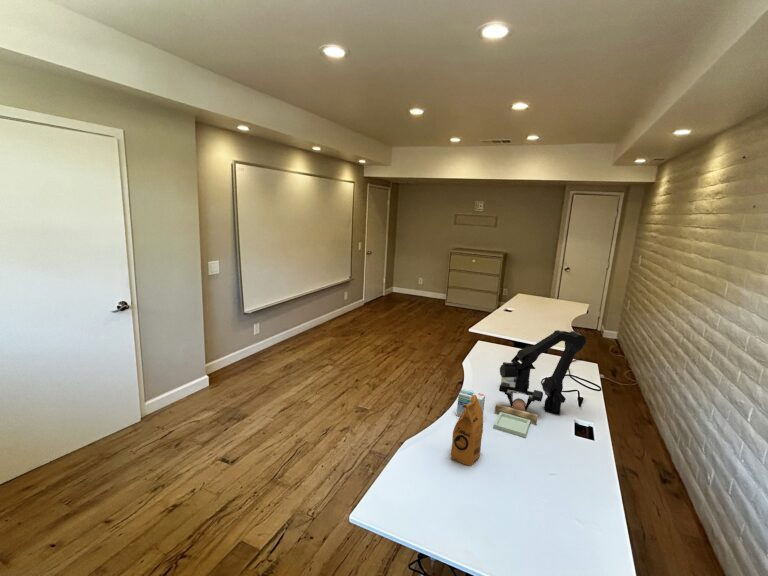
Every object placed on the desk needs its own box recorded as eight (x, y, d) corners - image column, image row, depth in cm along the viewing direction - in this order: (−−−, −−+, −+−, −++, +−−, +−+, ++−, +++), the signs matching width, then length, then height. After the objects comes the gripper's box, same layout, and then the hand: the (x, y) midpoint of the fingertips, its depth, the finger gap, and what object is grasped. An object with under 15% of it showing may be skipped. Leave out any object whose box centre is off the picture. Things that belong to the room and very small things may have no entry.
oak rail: (536, 423, 168) (537, 415, 167) (536, 425, 167) (537, 416, 166) (495, 411, 177) (496, 403, 176) (494, 413, 175) (495, 405, 174)
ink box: (515, 393, 197) (518, 371, 195) (499, 388, 202) (502, 367, 200) (521, 388, 204) (523, 367, 202) (505, 383, 209) (507, 363, 207)
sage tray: (529, 424, 167) (530, 420, 167) (525, 438, 156) (525, 433, 156) (499, 415, 173) (500, 411, 173) (493, 428, 162) (493, 424, 162)
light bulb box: (455, 415, 171) (458, 393, 169) (460, 409, 177) (462, 387, 175) (479, 422, 166) (482, 399, 164) (483, 416, 172) (485, 393, 170)
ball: (525, 410, 180) (527, 398, 179) (523, 415, 175) (525, 403, 174) (512, 406, 183) (514, 394, 182) (510, 411, 177) (511, 399, 176)
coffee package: (445, 458, 140) (451, 402, 136) (459, 443, 150) (465, 390, 146) (471, 469, 134) (477, 411, 130) (484, 452, 144) (490, 398, 140)
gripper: (546, 376, 178) (541, 407, 181) (505, 367, 187) (501, 396, 190) (543, 384, 169) (539, 417, 171) (500, 374, 177) (496, 405, 180)
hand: (518, 408), depth 178 cm, fingers closed on ball, 6 cm apart
